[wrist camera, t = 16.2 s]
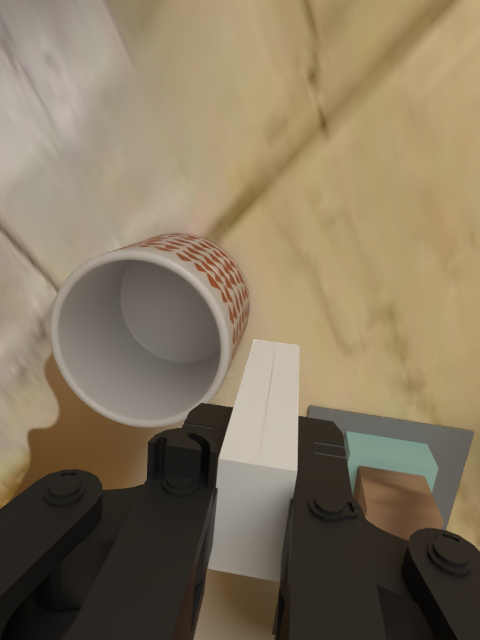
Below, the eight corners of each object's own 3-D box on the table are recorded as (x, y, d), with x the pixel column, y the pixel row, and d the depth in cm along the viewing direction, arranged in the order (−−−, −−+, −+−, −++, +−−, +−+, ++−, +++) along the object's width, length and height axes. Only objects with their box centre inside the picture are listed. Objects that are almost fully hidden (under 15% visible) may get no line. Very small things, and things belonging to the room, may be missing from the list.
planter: (228, 215, 42) (196, 227, 29) (266, 350, 45) (251, 411, 33) (97, 253, 44) (19, 278, 32) (141, 378, 48) (86, 443, 35)
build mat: (293, 502, 49) (293, 505, 49) (309, 405, 46) (309, 407, 45) (443, 529, 48) (444, 532, 47) (472, 430, 44) (473, 432, 44)
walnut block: (348, 517, 44) (354, 567, 38) (358, 465, 42) (367, 509, 36) (411, 528, 43) (427, 580, 37) (424, 476, 41) (443, 522, 36)
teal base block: (333, 496, 48) (335, 523, 44) (346, 430, 45) (350, 453, 42) (410, 510, 47) (419, 538, 43) (427, 443, 45) (438, 467, 41)
